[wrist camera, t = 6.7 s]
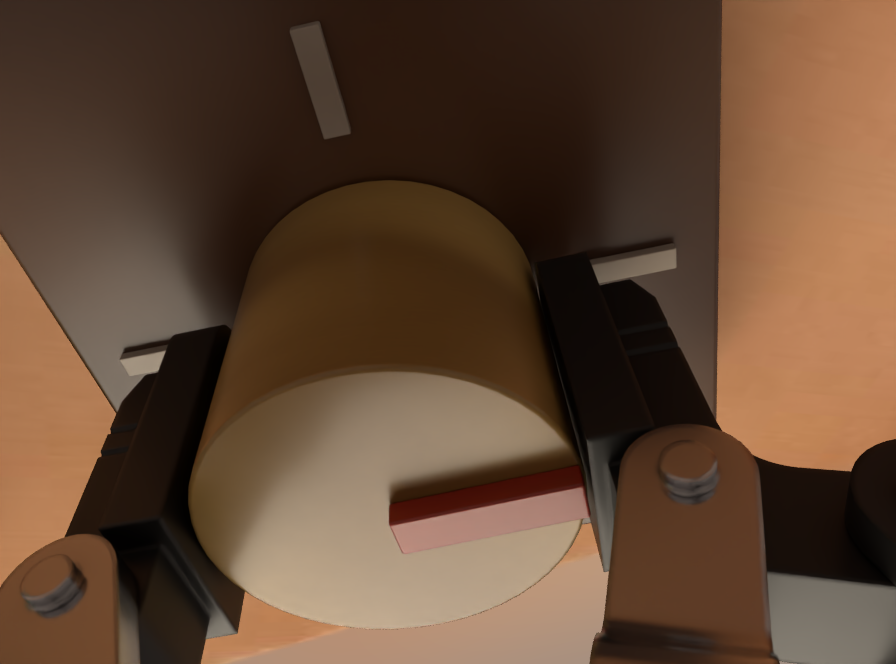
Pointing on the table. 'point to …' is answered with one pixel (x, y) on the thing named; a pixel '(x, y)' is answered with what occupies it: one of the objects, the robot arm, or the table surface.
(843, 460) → the table surface
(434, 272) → the dial
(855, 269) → the table surface
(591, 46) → the panel
